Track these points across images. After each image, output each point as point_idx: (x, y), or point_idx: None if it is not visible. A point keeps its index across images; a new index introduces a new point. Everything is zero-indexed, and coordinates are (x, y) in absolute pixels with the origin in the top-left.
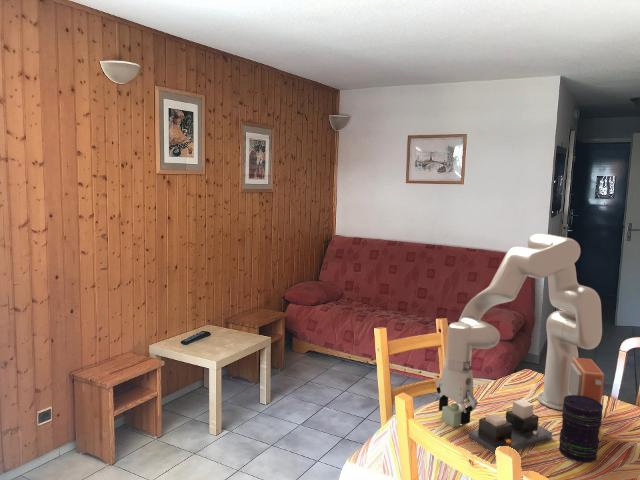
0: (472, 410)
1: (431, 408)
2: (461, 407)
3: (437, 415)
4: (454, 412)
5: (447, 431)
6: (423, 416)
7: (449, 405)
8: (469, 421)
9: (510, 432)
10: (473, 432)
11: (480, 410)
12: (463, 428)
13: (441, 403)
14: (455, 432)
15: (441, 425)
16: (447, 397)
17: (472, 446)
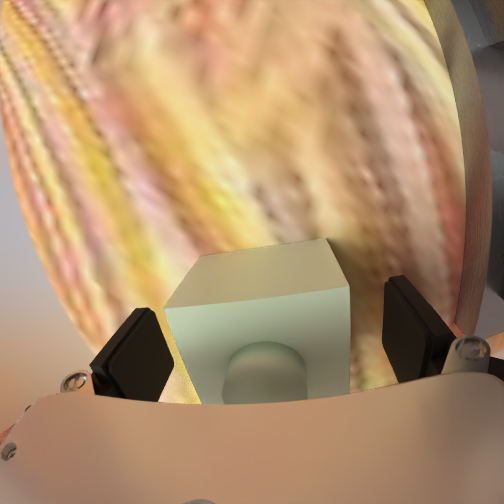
0: (483, 340)
1: (92, 321)
2: (260, 298)
3: (170, 343)
4: None
5: (354, 384)
6: (175, 400)
7: (192, 372)
8: (404, 279)
9: None
10: (488, 326)
11: (165, 15)
12: (371, 293)
13: (154, 398)
14: (383, 356)
15: None
16: (103, 373)
17: (492, 338)
